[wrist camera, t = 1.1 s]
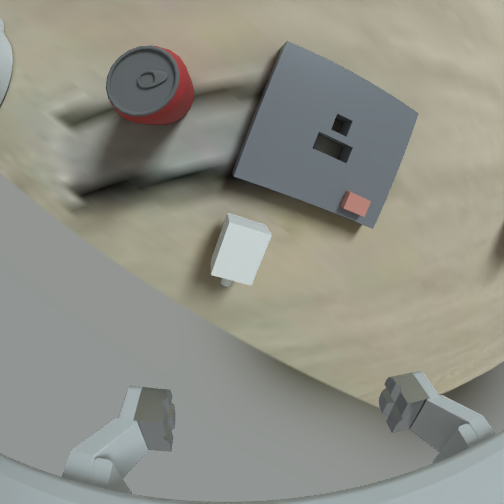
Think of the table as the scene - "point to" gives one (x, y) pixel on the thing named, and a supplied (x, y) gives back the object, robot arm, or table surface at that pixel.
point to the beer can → (150, 86)
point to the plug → (239, 250)
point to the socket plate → (320, 122)
